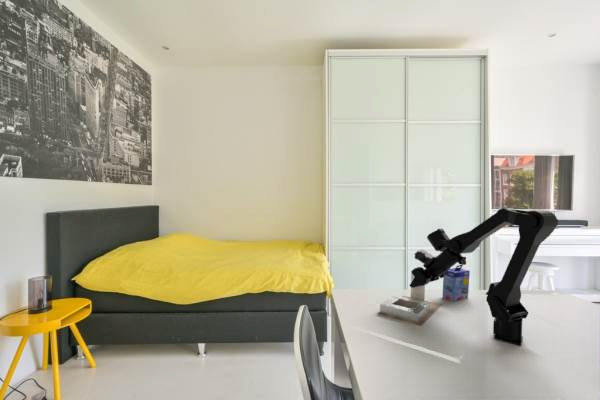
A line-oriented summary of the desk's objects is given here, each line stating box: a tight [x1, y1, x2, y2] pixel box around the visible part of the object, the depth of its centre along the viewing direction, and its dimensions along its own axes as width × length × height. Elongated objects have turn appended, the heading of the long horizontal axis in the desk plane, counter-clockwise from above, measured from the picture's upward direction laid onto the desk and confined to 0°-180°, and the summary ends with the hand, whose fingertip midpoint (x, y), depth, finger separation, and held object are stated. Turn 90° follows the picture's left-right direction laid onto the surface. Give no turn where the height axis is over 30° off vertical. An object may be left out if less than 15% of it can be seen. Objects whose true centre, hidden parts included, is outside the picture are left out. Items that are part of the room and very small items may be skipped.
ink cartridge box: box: [441, 264, 471, 302], centre depth 124 cm, size 10×6×14 cm, turn 120°
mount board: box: [376, 295, 443, 327], centre depth 111 cm, size 15×25×1 cm, turn 141°
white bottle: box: [410, 272, 426, 302], centre depth 118 cm, size 5×5×13 cm
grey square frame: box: [379, 294, 430, 323], centre depth 108 cm, size 13×13×3 cm
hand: (414, 285), depth 119 cm, fingers open, 6 cm apart
